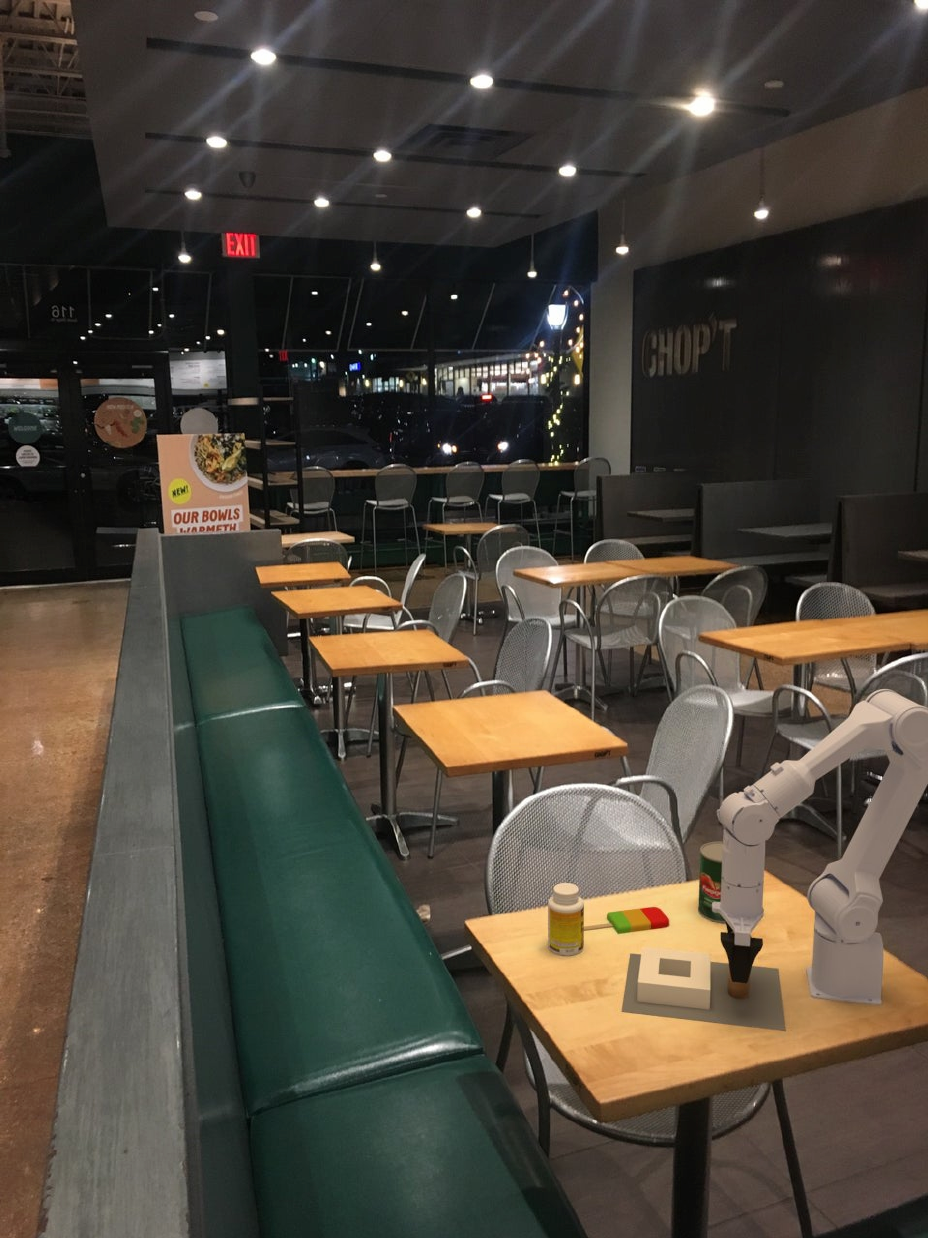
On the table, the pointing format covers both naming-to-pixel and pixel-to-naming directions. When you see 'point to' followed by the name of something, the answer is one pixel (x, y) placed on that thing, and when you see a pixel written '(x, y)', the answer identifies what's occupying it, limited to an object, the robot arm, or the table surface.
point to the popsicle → (634, 920)
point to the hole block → (674, 978)
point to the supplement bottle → (566, 920)
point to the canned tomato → (710, 880)
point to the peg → (738, 987)
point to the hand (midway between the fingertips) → (738, 967)
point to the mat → (718, 999)
